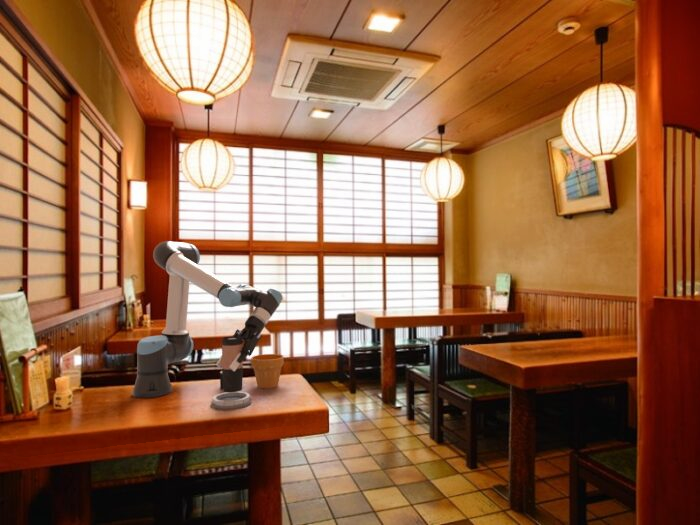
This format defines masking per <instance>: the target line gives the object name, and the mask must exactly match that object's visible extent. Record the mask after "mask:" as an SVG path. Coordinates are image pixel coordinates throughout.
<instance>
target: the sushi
mask: <svg viewBox="0 0 700 525" xmlns="http://www.w3.org/2000/svg"><path fill="white" fill-rule="evenodd" d="M219 373H220V375H219V376H220V377H219V378H220V379H219V383H220V384H219V388H220V390H222V391H223V376H222V370H221V371H219Z"/></svg>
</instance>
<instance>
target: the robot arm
mask: <svg viewBox="0 0 700 525" xmlns="http://www.w3.org/2000/svg"><path fill="white" fill-rule="evenodd" d="M152 257H153V260H154V262H155V264H156V265H157V266H159V267H160V268H161V269H162V270H165V271H166V272H167V273H166V274H168V275H169V281H168V282H169V283H168V292H167V295H168V296H167V308H166V318H165V319H166V320H165V328H164V329H163V330H162V331H161V335H152V336H150V335H149V336H146V337H143V338H141V339H140V340H139V341H138V343H137V347H136V348H137V349H136V359H137V360H136V363H137V364H136V365H137V366H136V368H137V369H136V370H137V371H136V372H137V373H136V379H135V383H134V386H133V388H132V397H133V398H137V397H138V399H148V398H149V399H151V398H158V397H162V396H166V395H169V394H171V393H172V391H173V385H172V383H171V381H170V377H169V374H168V368H169V367H168V365H169V364H172V363H177V362H181V361H182V360H185V359H186V358H189V356H191V353H192V352H193V349H194V340H193V339H192V337H191V336H190V331H189V329H187V319H188V306H189V293H190V283H191V284H193V285H195V286H196V287H198V288H200V289H202V290H203V291H205V292H207V293H208V294H209V295H211V296H213V297H215V298H216V299H218V301H219V303H220V305H222V306H223V307H226V308H234V307H241V306H245V305H247V306H248V305H249V306H252V307H253V308H254V309H253V311H252V312H251V313H250V315H249V316H248V318H247V319H246V320H245V322H244V327H243V329H241V330H239V329H236V330H235V331H234V334H232V336H231V337H235V338H239V337H242V351H240V352H241V353H242V354H241V353H239V354H238V355H237V356H236V358H235V359H234V361H233V362H232V364H231V365H230V368H231V369H232V370H233V371H235V370H236V369H237V367H238V366H239V364H240V363H241V362H242V361H243V362H244V359H245V358H247V356H249V357H251V355H252V354H253V352H254V350H255V348H256V346H257V345H258V343H259V341H260V340H261V338H262V337H263V334H261V333H262V331H263V329H264V328H266V327H265V326H266V325H267V324H268V323H269V321H270V319H271V318H272V317H273V314H274V313H275V312H276V311H277V309H278V308H279V307H280V304H281V303H282V301H283V298H284V297H283V294H282V293H281V291H280V290H277V289H276V288H271V287H270V288H268V290H267V291H264V290H261V289H258V288H255V287H253V286H251V285H249V284H246V283H241V284H238V285H237V286H235V285H233V284H231V283H229V282H228V281H226V280H224V279H223V278H221V277H219V276H217V275H216V274H215V273H213V272H210V271H209V270H207V269H205V268H204V267H202V266H200V265H199V263H200V260H201V255H200V251H199V249H198V248H197V247H196V245H194V244H191V243H188V242H185V241H184V242H182V241H181V242H180V241H172V240H166V241H162V242H160V243H158V244H157V245H156V246H155V248H154V250H153V254H152ZM215 365H216V366H217V367H218V368H219V370H222V355H221V356H220V358H219V360H218V361H217V362H216V363H215ZM150 397H151V398H150Z"/></svg>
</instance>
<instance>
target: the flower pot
mask: <svg viewBox="0 0 700 525" xmlns="http://www.w3.org/2000/svg"><path fill="white" fill-rule="evenodd" d="M284 359H285V358H284V355H282V354H278V353H267V354H266V353H264V354H257V355H252V357H251V356H250V363H251V368H253V373H254V377H255V381H256V385H257V388H258V387H259V389H263V388H268V389H274V388H277V387H278V385H279V381H280V377H281V372H282V367H283V366H284ZM276 386H277V387H276ZM273 387H274V388H273Z"/></svg>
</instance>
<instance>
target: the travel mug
mask: <svg viewBox="0 0 700 525" xmlns="http://www.w3.org/2000/svg"><path fill="white" fill-rule="evenodd" d="M221 340H222V341H221V342H222V343H221V347H222V348H221V350H222V351H221V353H222V354H221V356H222V368H221V371H222V376H223V390H222V391H223V393H226V392H238V391H239V392H242V390H243V371H244V370H243V364H244V363H243V362H244V360H243V361H242V362H241V363H240V364H239V366H238V367H237V369H236V370H235V371H233V370H232V369H231V368H230V365H231V364H232V362H233V361H234V359H235V358H236V356H237V355H238V354H239V353H241V352H240V351H242V348H243V343H242V340H243V339H242V337H239V338H235V337H232V336H224V337H223V338H222V339H221ZM241 354H242V353H241Z"/></svg>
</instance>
